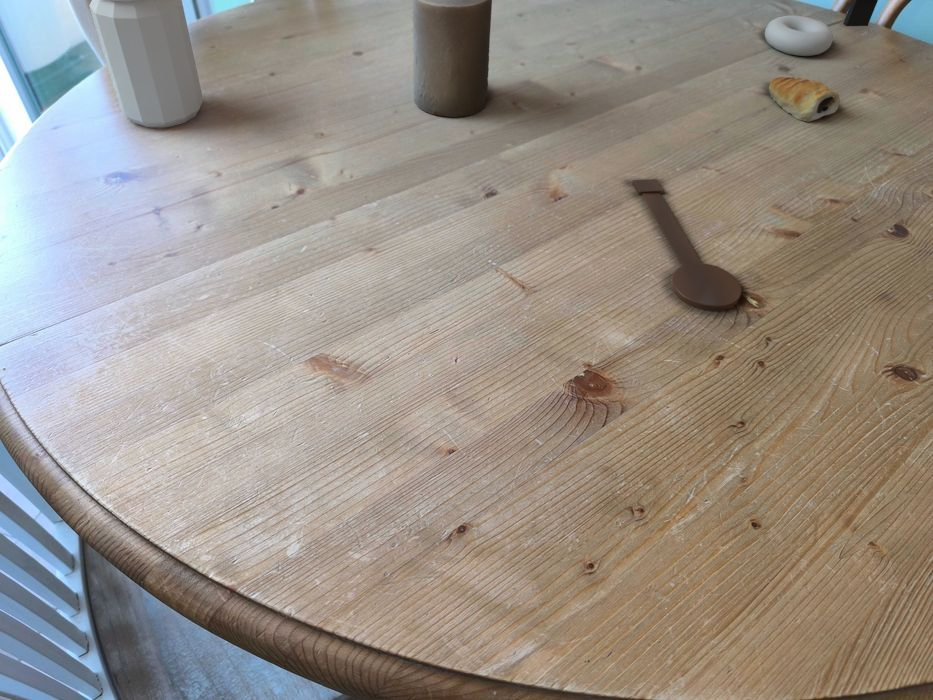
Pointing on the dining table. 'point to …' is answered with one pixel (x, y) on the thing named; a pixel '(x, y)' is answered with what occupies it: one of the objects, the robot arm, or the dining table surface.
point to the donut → (798, 35)
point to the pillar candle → (451, 55)
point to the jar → (149, 59)
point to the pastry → (804, 97)
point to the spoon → (689, 259)
